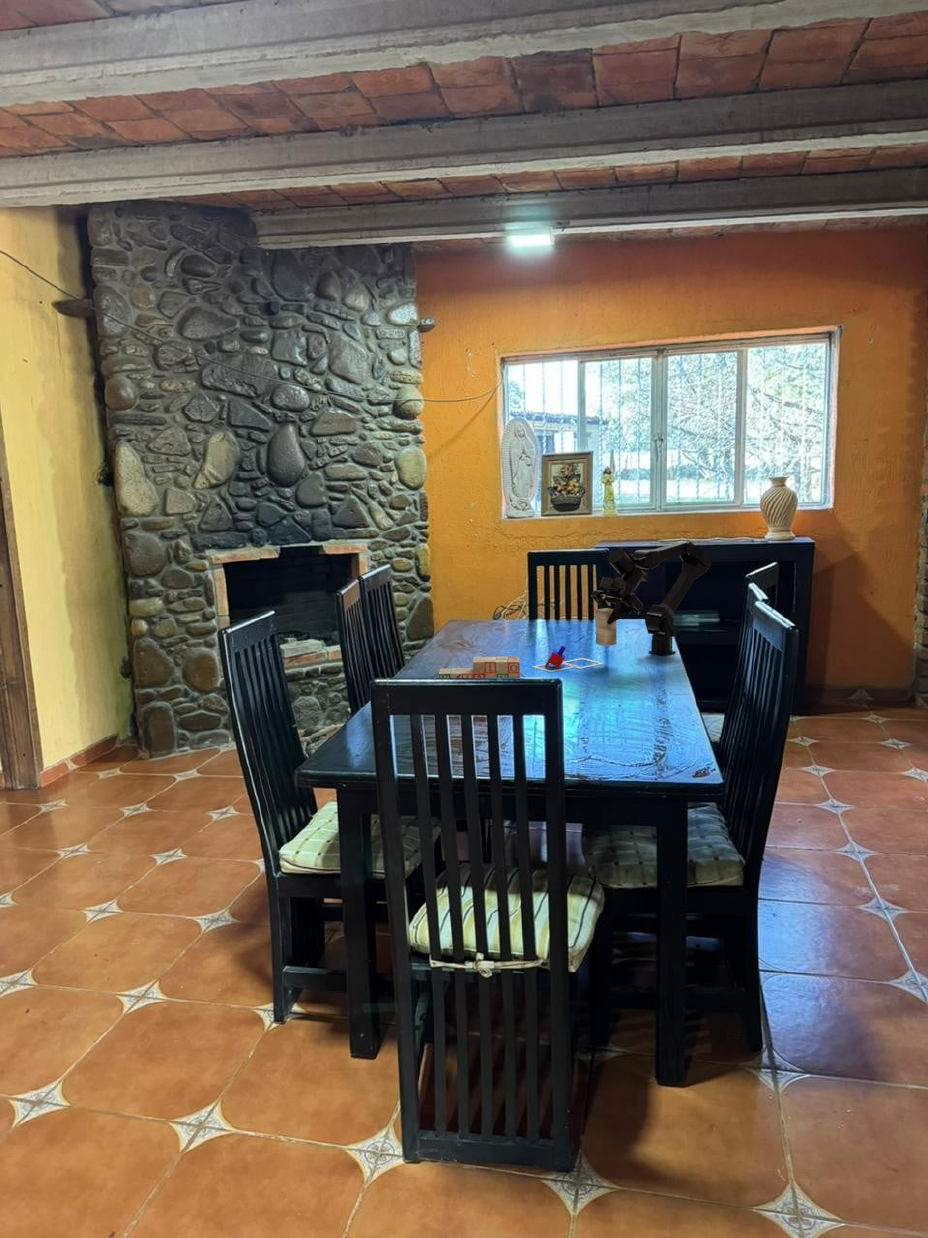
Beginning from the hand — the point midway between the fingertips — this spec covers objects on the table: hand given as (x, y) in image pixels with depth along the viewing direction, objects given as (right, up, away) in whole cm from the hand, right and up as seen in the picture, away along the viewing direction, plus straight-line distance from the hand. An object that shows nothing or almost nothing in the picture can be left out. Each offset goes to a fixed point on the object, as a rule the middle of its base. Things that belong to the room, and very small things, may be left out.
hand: (602, 622), depth 251 cm
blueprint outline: (-10, -14, +3) cm, 17 cm away
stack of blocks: (-39, -22, -37) cm, 58 cm away
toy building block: (-14, -14, +2) cm, 20 cm away
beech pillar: (+1, -7, +2) cm, 7 cm away
